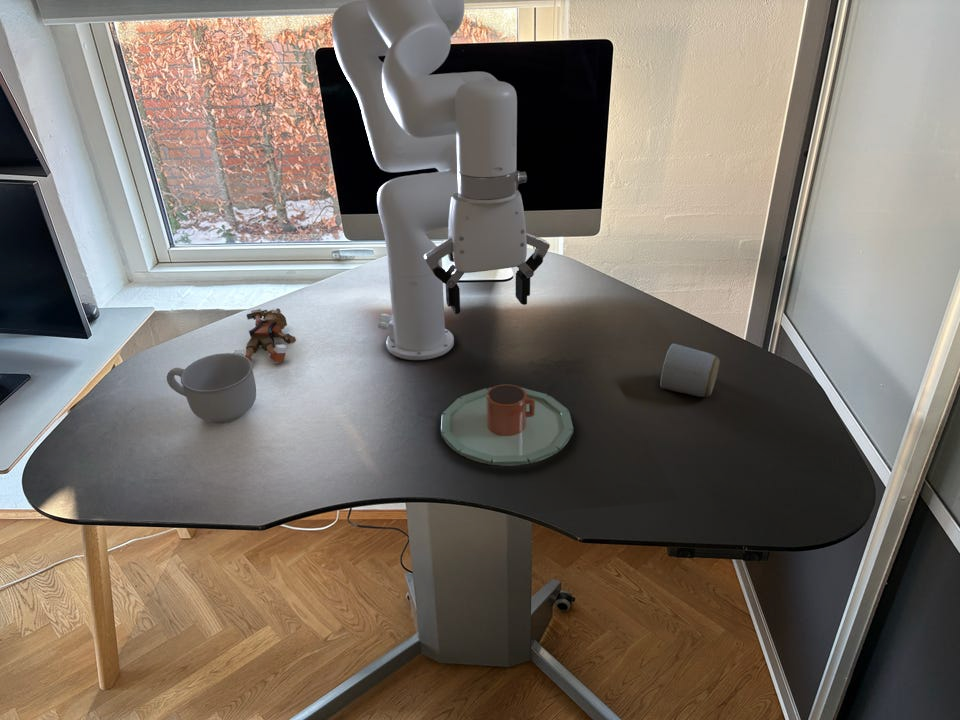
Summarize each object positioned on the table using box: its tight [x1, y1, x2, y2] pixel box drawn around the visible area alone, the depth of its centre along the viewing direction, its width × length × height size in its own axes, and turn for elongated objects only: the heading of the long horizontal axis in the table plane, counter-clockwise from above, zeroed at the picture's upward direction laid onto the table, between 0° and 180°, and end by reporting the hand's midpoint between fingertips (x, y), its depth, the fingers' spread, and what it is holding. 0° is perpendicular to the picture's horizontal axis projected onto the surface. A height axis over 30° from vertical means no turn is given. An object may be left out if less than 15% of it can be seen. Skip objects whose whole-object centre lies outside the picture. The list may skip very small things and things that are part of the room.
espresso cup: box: [486, 383, 535, 436], centre depth 109 cm, size 7×6×6 cm
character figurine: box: [233, 307, 297, 364], centre depth 136 cm, size 12×5×18 cm
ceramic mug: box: [659, 343, 720, 398], centre depth 119 cm, size 11×8×8 cm
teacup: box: [166, 352, 257, 423], centre depth 115 cm, size 14×11×8 cm
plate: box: [440, 387, 574, 467], centre depth 110 cm, size 20×20×2 cm
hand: (488, 305), depth 101 cm, fingers open, 9 cm apart
